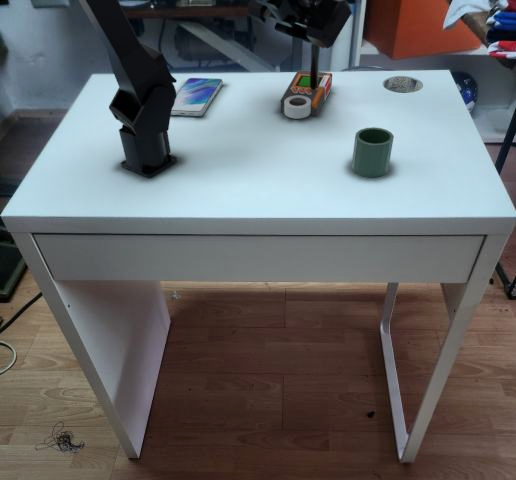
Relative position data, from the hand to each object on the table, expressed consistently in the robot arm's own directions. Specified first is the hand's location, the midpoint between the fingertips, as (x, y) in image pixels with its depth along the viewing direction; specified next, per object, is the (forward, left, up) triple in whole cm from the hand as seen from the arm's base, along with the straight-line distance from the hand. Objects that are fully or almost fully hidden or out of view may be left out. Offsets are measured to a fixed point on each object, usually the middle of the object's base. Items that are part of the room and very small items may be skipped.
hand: (321, 44), depth 85 cm
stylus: (-1, 0, -7) cm, 7 cm away
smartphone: (-11, +20, -10) cm, 25 cm away
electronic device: (-1, +2, -10) cm, 10 cm away
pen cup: (-15, -19, -10) cm, 26 cm away
